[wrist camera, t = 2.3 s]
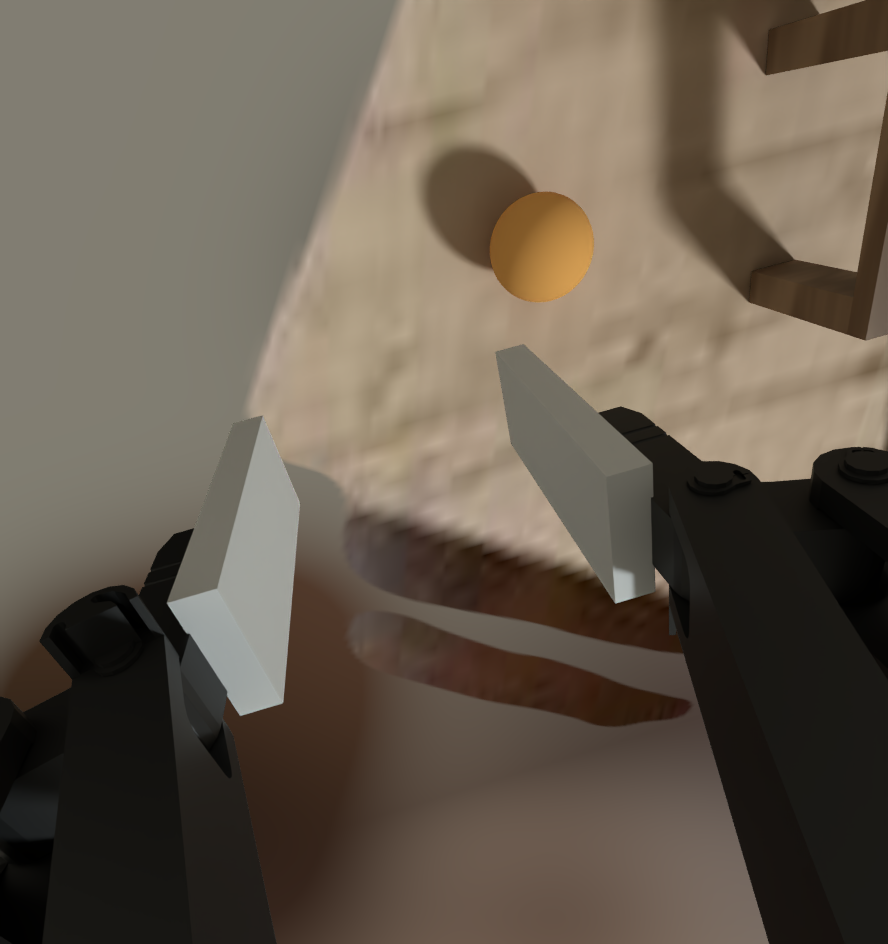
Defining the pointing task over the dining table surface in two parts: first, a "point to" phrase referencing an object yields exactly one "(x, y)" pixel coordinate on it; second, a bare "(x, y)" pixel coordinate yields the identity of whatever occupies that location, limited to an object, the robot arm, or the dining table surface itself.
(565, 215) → the ball
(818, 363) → the dining table surface
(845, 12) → the bridge
